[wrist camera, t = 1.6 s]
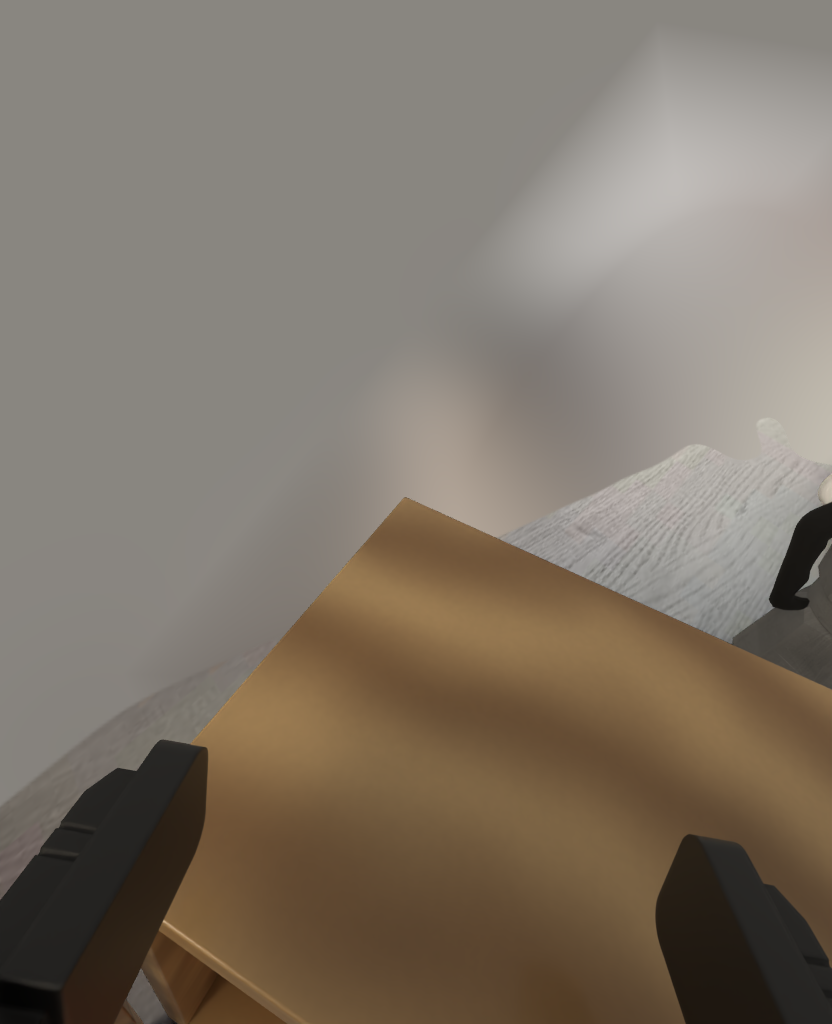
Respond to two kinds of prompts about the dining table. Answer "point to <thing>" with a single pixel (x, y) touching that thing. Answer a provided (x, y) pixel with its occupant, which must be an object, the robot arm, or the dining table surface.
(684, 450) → the dining table surface
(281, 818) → the cupboard
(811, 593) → the coffeepot
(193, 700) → the dining table surface
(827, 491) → the decorative rooster
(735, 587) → the dining table surface
